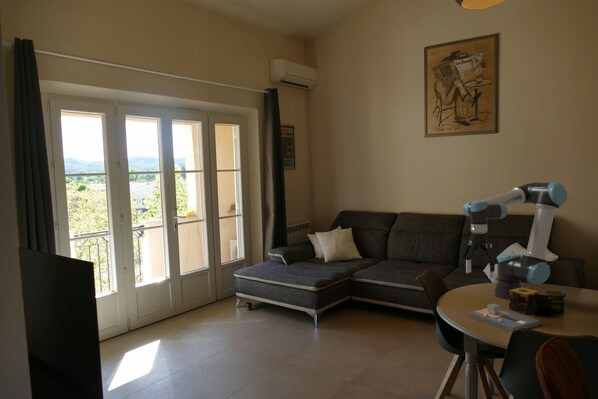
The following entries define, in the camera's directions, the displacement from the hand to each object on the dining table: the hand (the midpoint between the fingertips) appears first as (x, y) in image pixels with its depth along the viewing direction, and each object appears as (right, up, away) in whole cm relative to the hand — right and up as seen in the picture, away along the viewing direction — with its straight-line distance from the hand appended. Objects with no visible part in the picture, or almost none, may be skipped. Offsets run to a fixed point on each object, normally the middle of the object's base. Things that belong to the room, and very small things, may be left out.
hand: (479, 275), depth 209 cm
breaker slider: (+4, -17, -7) cm, 18 cm away
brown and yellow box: (+23, -18, +2) cm, 30 cm away
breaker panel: (+6, -19, -11) cm, 23 cm away
